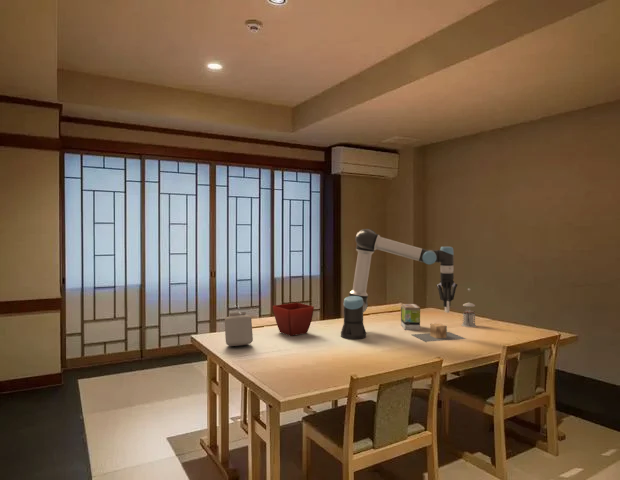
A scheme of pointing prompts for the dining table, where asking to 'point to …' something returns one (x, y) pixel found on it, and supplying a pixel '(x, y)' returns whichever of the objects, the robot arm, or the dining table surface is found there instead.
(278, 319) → the plant pot
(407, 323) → the tea box
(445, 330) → the wooden block
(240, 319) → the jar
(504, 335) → the dining table surface
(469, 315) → the french press
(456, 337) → the slate mat
